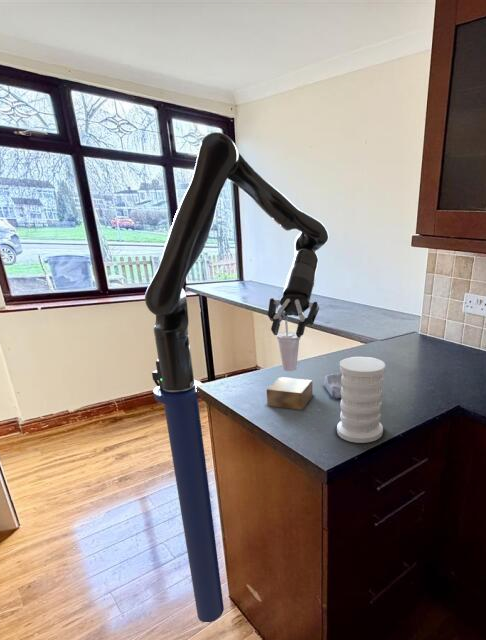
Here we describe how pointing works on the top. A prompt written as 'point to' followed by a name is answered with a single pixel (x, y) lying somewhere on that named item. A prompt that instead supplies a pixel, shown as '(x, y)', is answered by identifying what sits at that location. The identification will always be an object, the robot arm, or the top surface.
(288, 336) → the smoothie
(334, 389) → the stone block
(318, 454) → the top surface
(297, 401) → the oak block
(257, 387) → the top surface
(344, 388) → the decorative container
